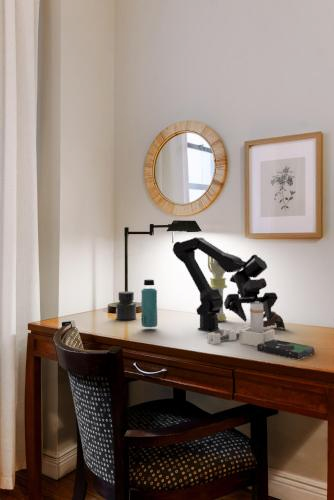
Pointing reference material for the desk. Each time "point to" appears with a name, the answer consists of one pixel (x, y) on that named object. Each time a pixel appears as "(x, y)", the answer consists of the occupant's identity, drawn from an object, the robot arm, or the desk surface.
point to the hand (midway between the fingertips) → (258, 320)
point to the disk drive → (285, 349)
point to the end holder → (255, 337)
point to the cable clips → (226, 332)
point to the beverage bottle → (149, 305)
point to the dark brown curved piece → (273, 320)
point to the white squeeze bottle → (256, 317)
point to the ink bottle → (126, 306)
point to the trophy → (217, 282)
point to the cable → (226, 337)
